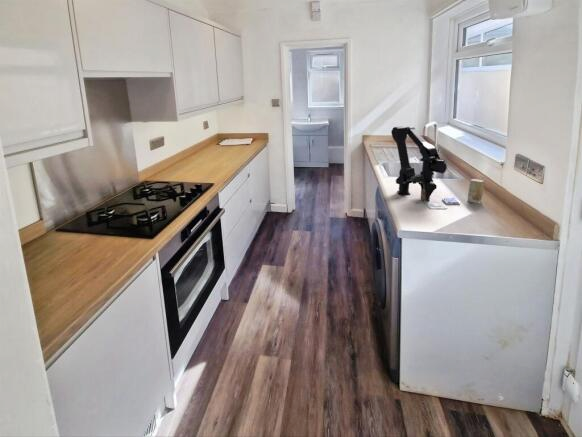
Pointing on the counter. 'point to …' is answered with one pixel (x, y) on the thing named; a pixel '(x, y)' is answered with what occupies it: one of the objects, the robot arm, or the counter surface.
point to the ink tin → (450, 201)
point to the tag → (435, 205)
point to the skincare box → (475, 190)
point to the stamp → (423, 196)
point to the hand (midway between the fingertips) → (425, 197)
